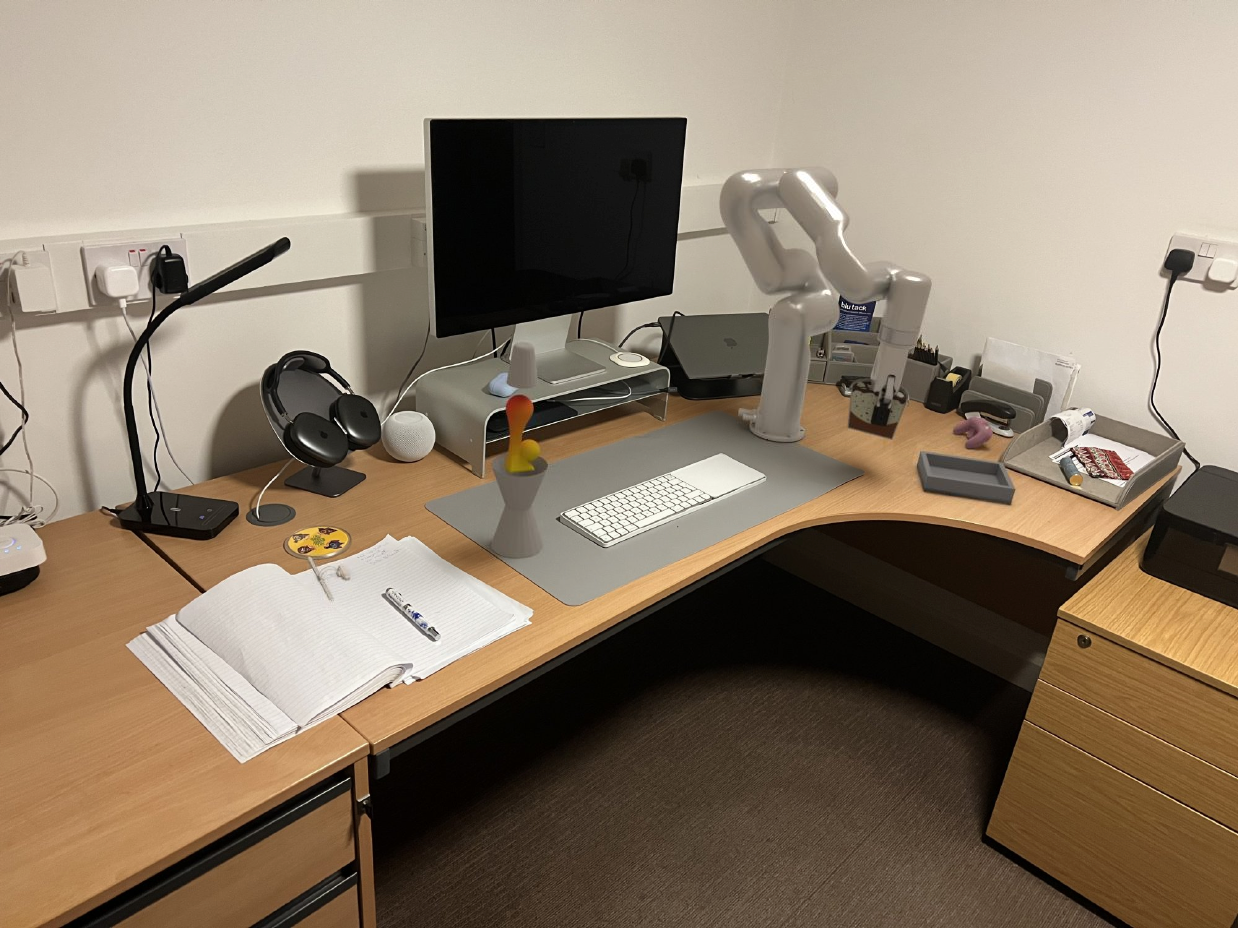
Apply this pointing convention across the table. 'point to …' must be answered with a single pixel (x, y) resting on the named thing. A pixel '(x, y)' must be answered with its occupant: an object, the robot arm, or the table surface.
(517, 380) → the lava lamp
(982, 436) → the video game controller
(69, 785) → the table surface
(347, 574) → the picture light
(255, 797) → the table surface
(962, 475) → the desk holder
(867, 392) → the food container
